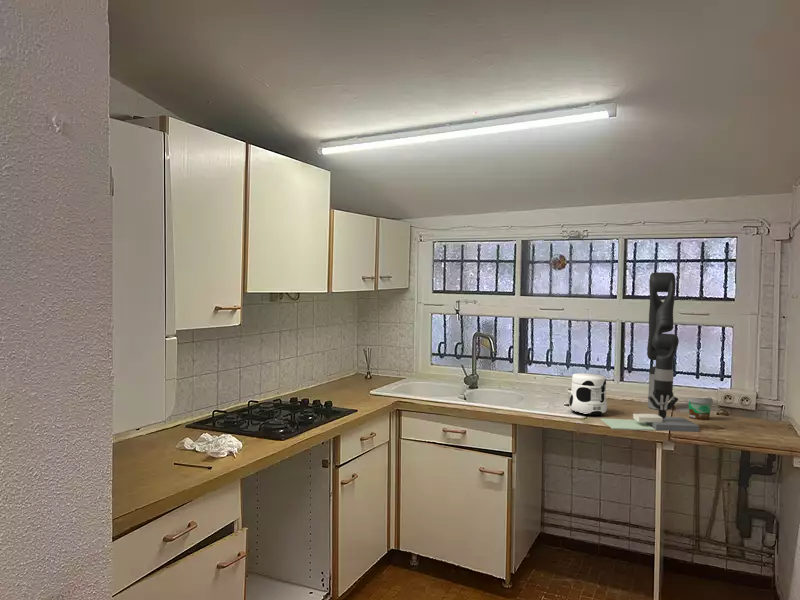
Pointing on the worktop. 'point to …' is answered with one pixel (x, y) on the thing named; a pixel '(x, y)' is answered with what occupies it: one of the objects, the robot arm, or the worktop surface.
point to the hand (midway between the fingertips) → (662, 418)
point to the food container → (699, 408)
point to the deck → (674, 424)
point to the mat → (627, 424)
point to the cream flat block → (647, 417)
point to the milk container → (588, 394)
